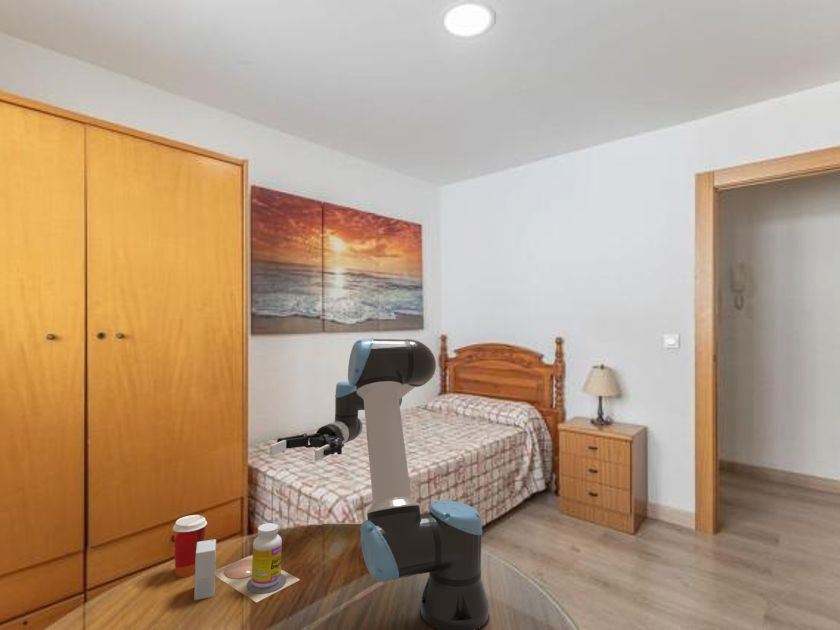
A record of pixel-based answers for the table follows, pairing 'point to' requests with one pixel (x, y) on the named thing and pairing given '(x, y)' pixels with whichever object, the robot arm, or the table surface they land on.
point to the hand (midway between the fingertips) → (292, 453)
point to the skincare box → (205, 569)
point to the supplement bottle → (266, 556)
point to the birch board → (242, 583)
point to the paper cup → (187, 543)
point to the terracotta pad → (239, 569)
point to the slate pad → (268, 589)
